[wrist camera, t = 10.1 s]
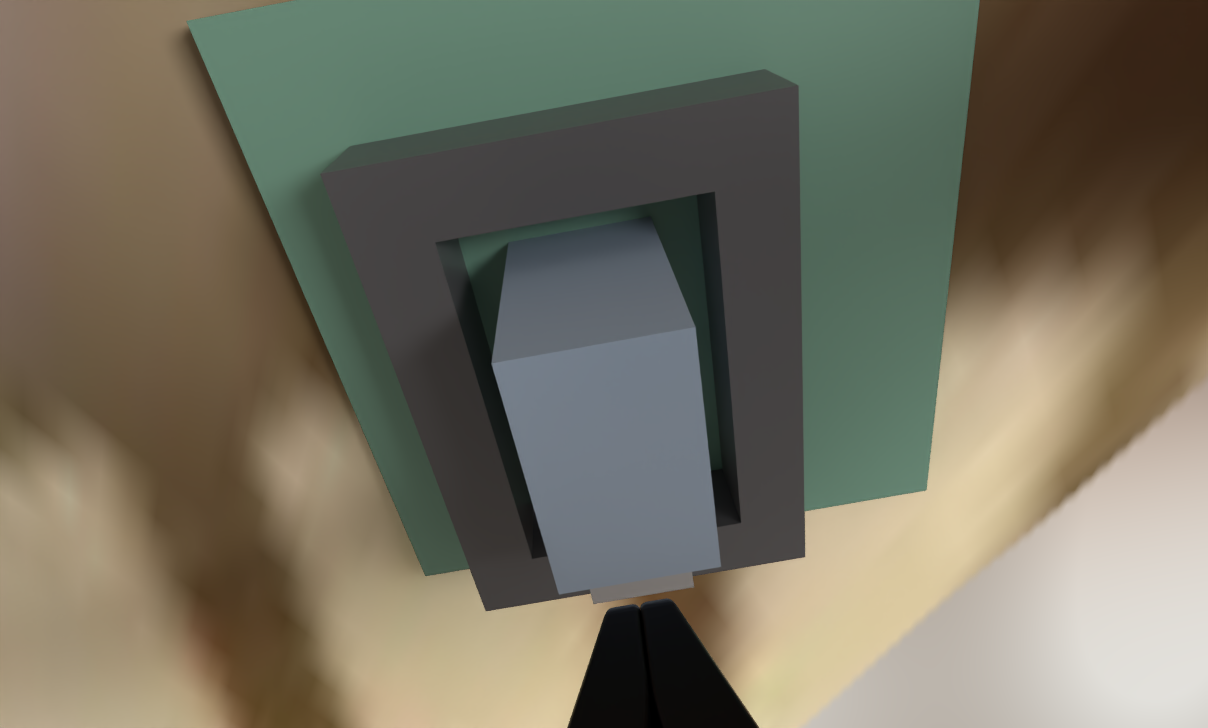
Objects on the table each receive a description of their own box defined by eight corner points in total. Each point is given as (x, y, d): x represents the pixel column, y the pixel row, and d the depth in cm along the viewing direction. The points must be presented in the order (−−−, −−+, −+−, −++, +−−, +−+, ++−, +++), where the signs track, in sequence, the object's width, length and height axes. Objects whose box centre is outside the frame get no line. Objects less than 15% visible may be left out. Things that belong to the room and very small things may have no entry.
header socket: (764, 68, 13) (798, 84, 11) (781, 501, 18) (805, 556, 17) (349, 145, 13) (320, 173, 11) (491, 551, 19) (485, 611, 17)
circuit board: (975, -129, 12) (994, -134, 11) (916, 476, 19) (926, 490, 19) (202, 18, 12) (186, 20, 12) (428, 560, 19) (425, 576, 19)
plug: (650, 216, 14) (695, 327, 10) (680, 443, 17) (724, 603, 13) (508, 242, 14) (491, 363, 10) (563, 463, 17) (569, 629, 13)
